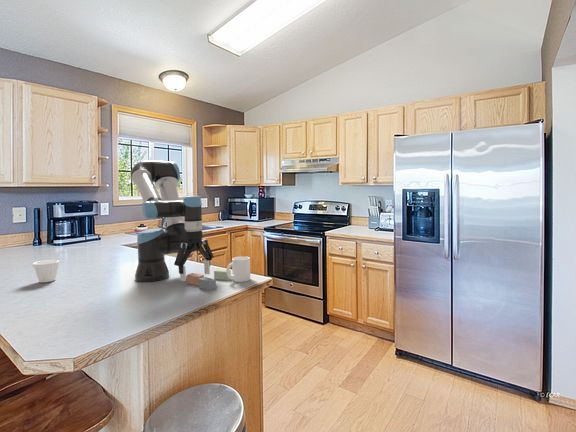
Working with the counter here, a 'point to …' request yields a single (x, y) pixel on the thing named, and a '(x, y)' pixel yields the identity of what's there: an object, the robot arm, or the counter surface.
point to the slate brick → (207, 283)
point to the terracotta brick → (194, 278)
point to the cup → (46, 270)
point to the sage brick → (221, 274)
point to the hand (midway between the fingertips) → (195, 277)
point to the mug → (239, 269)
